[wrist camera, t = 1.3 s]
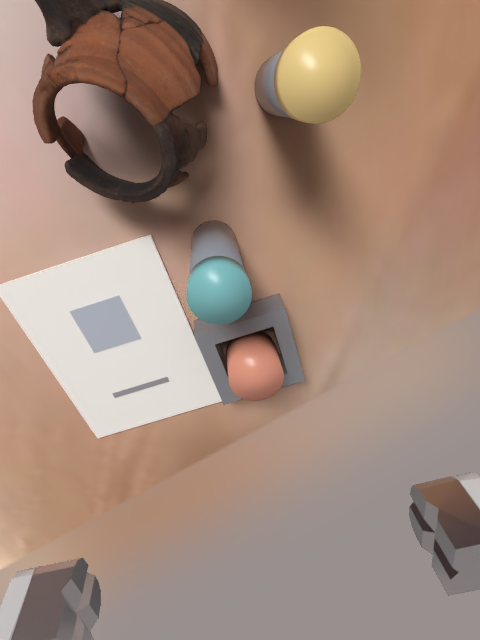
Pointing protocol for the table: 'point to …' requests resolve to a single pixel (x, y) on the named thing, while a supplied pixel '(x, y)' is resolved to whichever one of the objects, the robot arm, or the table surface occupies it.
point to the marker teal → (217, 275)
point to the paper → (114, 336)
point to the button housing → (253, 320)
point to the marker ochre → (310, 77)
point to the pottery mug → (125, 81)
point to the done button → (254, 366)
